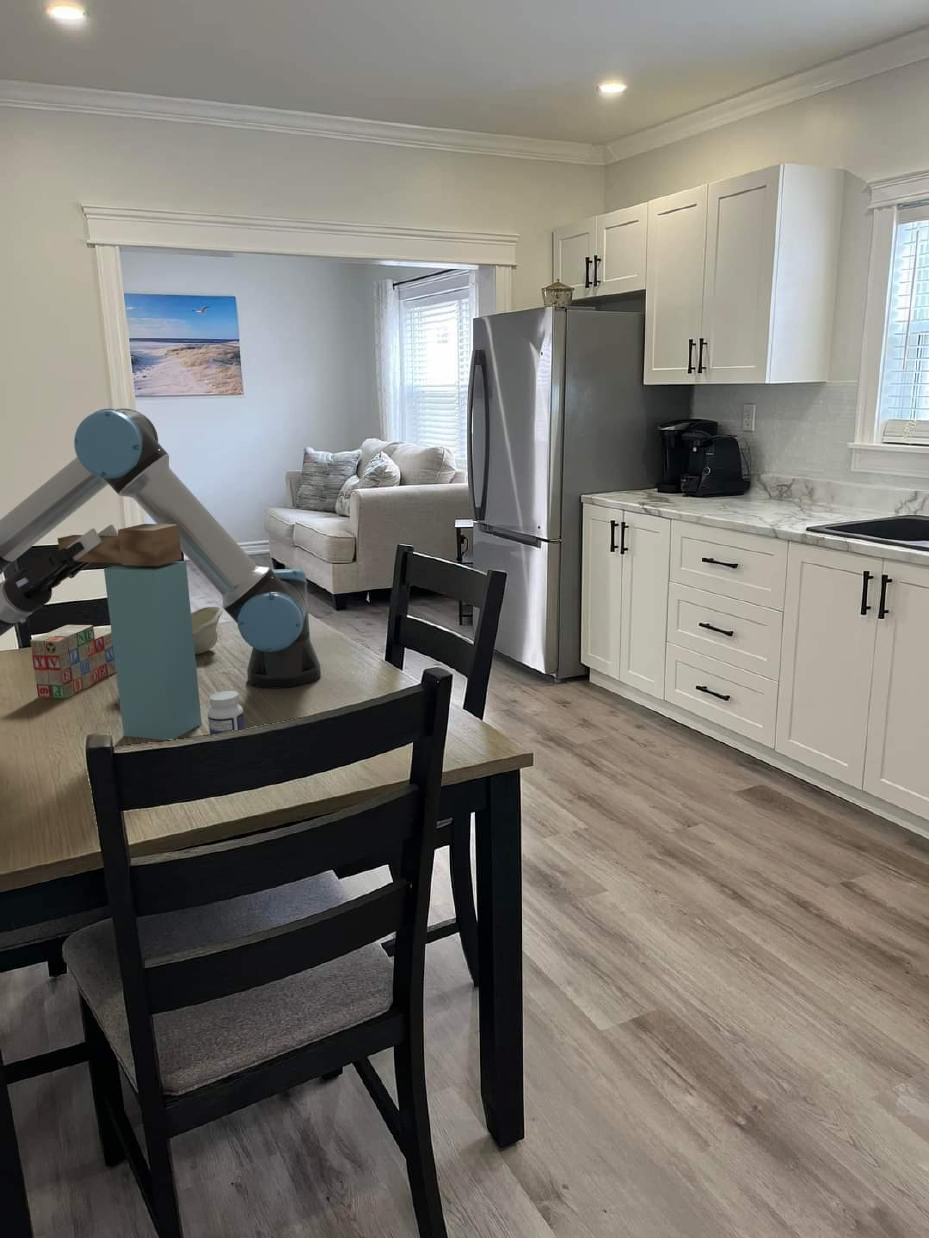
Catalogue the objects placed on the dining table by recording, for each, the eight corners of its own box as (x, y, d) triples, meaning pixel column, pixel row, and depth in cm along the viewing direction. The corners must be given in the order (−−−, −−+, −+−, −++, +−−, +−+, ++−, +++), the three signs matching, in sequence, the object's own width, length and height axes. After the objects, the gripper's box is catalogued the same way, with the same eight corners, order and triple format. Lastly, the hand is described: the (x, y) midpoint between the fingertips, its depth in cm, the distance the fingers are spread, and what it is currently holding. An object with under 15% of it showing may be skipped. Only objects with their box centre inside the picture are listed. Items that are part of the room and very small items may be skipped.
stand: (201, 723, 169) (185, 561, 162) (172, 740, 161) (154, 570, 154) (155, 718, 172) (137, 559, 165) (123, 735, 164) (103, 568, 157)
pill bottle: (232, 742, 160) (227, 687, 157) (253, 749, 156) (249, 693, 154) (204, 752, 155) (199, 696, 153) (225, 760, 152) (220, 702, 150)
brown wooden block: (181, 558, 161) (178, 524, 160) (156, 566, 155) (153, 530, 153) (82, 555, 168) (77, 522, 166) (54, 562, 161) (49, 528, 160)
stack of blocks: (99, 667, 207) (92, 613, 204) (124, 668, 206) (118, 614, 203) (37, 698, 187) (29, 639, 184) (65, 699, 185) (57, 640, 182)
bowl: (159, 649, 220) (155, 608, 218) (219, 641, 226) (215, 601, 224) (168, 664, 207) (163, 621, 205) (231, 656, 213) (228, 613, 210)
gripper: (65, 602, 178) (148, 544, 169) (-4, 623, 162) (83, 561, 153) (44, 568, 177) (126, 508, 168) (-27, 586, 162) (59, 521, 153)
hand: (105, 533), depth 161 cm, fingers closed on brown wooden block, 4 cm apart
